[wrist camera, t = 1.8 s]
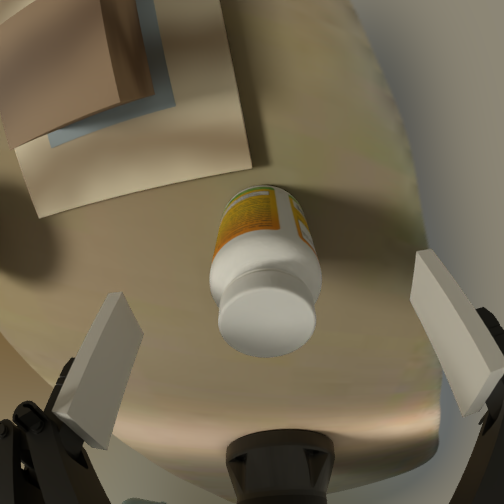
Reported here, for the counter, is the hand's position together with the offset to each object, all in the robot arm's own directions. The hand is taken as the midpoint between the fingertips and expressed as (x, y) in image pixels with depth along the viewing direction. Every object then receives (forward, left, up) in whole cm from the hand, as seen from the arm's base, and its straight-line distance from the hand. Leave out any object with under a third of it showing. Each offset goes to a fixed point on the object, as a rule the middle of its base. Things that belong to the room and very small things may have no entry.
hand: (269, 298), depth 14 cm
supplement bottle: (0, 0, -9) cm, 9 cm away
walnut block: (+13, +8, -7) cm, 17 cm away
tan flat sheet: (+13, +8, -8) cm, 17 cm away
